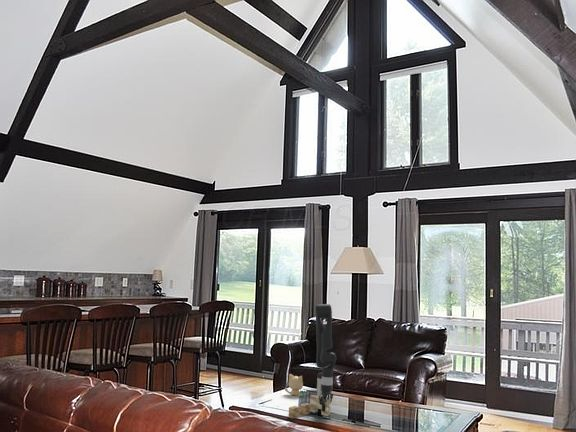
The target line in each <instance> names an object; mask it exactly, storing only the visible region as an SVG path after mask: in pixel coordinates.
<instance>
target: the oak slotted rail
mask: <svg viewBox="0 0 576 432" xmlns="http://www.w3.org/2000/svg"><path fill="white" fill-rule="evenodd" d="M310 406H311V404H310V403H308V402H305V403H301V404H300V406H297V405H293V406H292V405H291V406H289V407H288V416H287V417H288V418H290V419H296V418H299V417H304V416H307V415H310V414H311V412H310Z"/></svg>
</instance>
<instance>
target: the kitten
mask: <svg viewBox="0 0 576 432" xmlns="http://www.w3.org/2000/svg"><path fill="white" fill-rule="evenodd" d="M288 376H289V377H288V388H289V389H291V390H290V391H289V390H288V388H287V387H285V388H284V391H285V392H287V394H289V395H292V396H299V395H300V397H301V398H303V397H304V398H305V395H306V390H305V389H303V387H304V382H303V375H300V376H298V375H293V374H292V373H289V375H288ZM302 389H303V391H304V393H303V394H302V393H301V392H302Z"/></svg>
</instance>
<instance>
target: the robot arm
mask: <svg viewBox="0 0 576 432" xmlns="http://www.w3.org/2000/svg"><path fill="white" fill-rule="evenodd" d="M314 310H315V311H314V314H315V323H316V326H315V329H316V330H315V332H316V333H315V335H316V336H315V337H316V338H315V339H316V360H315V361H316V363H315V364H316V367H317V368H319V369H322V370H321V371H322V372H319V373H317V377H316V379H317V380H316V381H317V382H316V396H319V402H320V404H321V405H322V410H321V411H325V405H326V401H327V399H331V402H330V404H331V403H332V402H333V398H334V393H332V392H333V384H334V380H333V379H334V378H333V377H334V368H335V365H336V362H337V355H336V353H334V352H332V351H331V352H327V351H328V350H330V349H333V337H332V334H333V332H332V330H333V329H332V327H333V321H332V320H333V310H332V305H331V304H330V303H325V304H324V303H323V304H322V303H321V304H316V305H315V309H314ZM322 319H326V320H327V321H326V324H324V322H323V321H322ZM323 399H324V400H323ZM321 402H322V403H321Z"/></svg>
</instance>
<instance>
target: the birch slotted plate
mask: <svg viewBox="0 0 576 432" xmlns="http://www.w3.org/2000/svg"><path fill="white" fill-rule="evenodd" d="M316 395H317V394H316ZM316 395H315V394H311V395H310V396H309V397H310V399H309V404H311V406H310V413H313V414H316V413H318V412H319V410H321V411H320V412H321V416H325V417H328V416H330V415H331V403H332V402H331V399H327V401H326V405H325V411H322V405H321V404H320V402H319V396H316ZM323 400H324V399H323ZM330 402H331V403H330ZM321 403H322V402H321ZM318 409H319V410H318Z"/></svg>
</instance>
